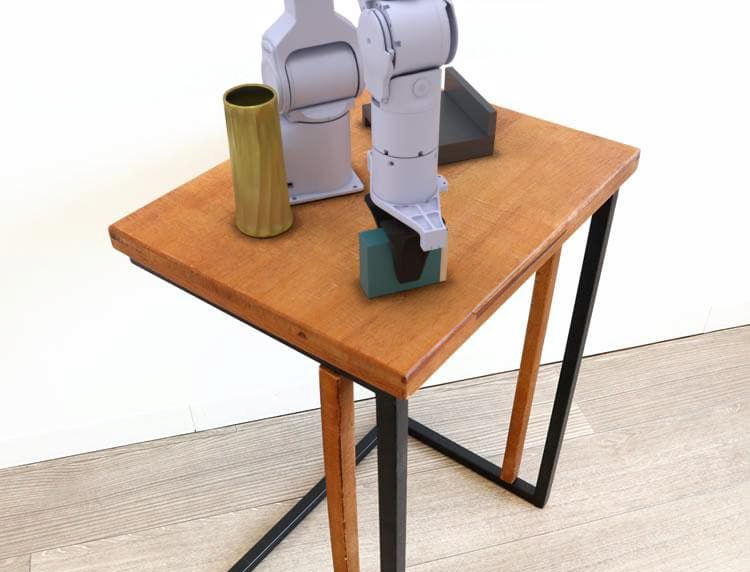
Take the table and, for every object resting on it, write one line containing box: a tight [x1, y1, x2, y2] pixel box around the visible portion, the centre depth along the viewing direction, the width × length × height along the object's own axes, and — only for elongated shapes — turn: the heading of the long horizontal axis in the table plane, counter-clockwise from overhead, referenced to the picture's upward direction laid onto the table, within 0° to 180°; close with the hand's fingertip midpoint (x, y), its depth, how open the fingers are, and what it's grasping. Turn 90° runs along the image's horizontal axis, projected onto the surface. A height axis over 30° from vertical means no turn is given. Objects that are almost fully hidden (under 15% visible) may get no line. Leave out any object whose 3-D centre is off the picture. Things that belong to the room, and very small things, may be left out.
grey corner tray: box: [361, 66, 498, 166], centre depth 101 cm, size 12×13×6 cm
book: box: [358, 226, 450, 299], centre depth 80 cm, size 3×8×6 cm, turn 110°
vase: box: [222, 82, 295, 238], centre depth 85 cm, size 6×6×14 cm
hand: (403, 271), depth 81 cm, fingers closed on book, 2 cm apart
